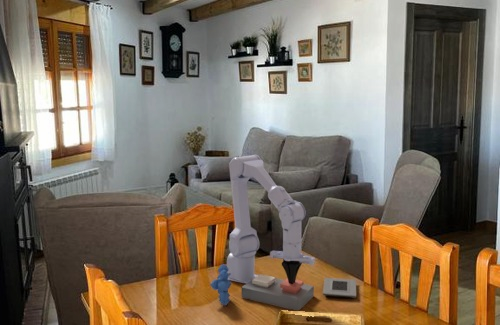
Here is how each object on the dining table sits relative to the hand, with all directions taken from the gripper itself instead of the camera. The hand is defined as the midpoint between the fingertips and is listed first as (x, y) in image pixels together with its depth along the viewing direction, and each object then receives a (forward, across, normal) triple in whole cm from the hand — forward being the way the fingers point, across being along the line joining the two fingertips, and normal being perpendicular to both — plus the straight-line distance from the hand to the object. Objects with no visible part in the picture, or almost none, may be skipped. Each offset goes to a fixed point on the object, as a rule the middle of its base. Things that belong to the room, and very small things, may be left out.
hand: (291, 282), depth 157 cm
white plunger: (+6, -10, 0) cm, 12 cm away
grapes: (+6, -19, -12) cm, 23 cm away
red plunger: (+5, 0, 0) cm, 5 cm away
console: (+6, -5, 0) cm, 8 cm away
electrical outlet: (+6, +11, +14) cm, 19 cm away
